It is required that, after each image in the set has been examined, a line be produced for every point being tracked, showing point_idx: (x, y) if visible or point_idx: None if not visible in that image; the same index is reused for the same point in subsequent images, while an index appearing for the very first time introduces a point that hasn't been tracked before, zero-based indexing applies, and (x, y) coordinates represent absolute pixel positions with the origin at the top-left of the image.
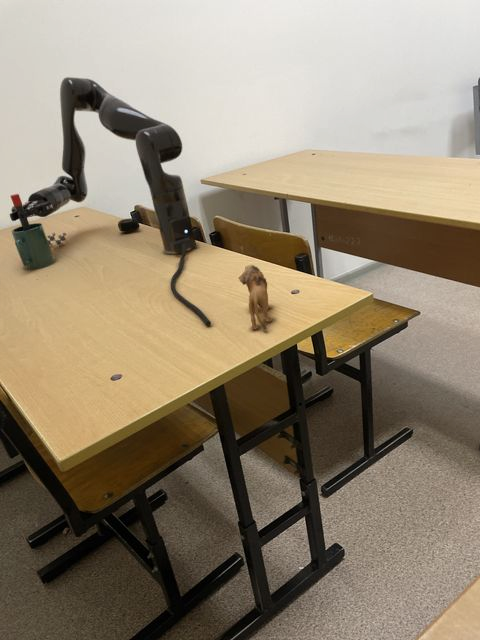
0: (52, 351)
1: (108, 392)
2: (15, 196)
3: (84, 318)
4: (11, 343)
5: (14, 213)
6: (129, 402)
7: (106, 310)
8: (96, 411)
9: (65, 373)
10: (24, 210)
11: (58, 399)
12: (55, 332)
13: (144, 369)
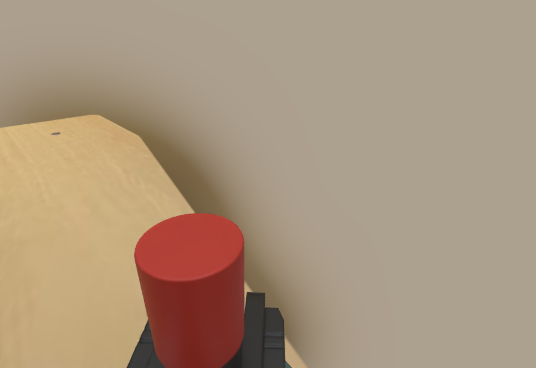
0: (105, 151)
1: (65, 128)
2: (171, 227)
3: (64, 180)
4: (151, 161)
5: (244, 325)
6: (54, 124)
7: (29, 188)
8: (75, 123)
9: (93, 137)
10: (152, 349)
11: (98, 128)
12: (103, 167)
13: (32, 135)
